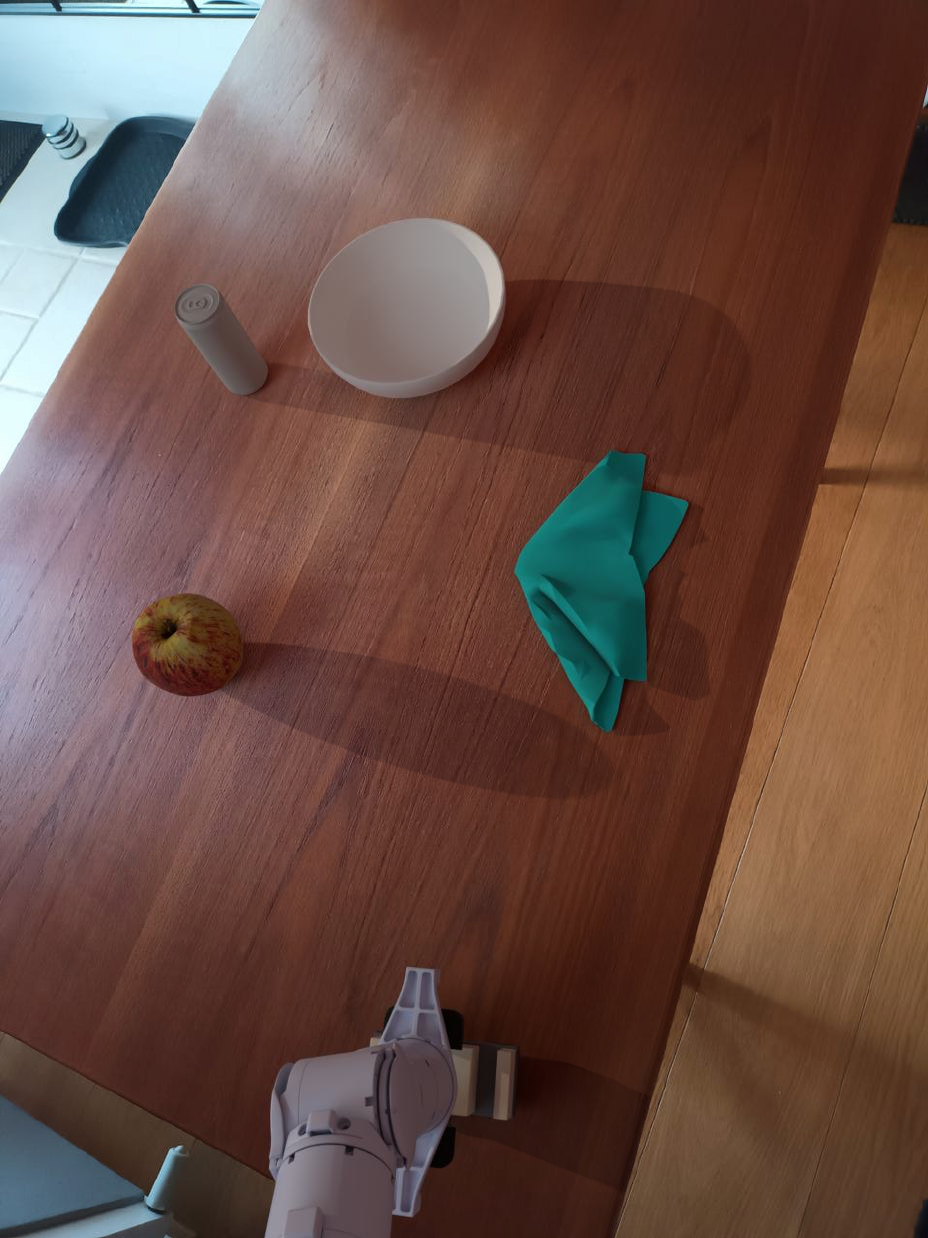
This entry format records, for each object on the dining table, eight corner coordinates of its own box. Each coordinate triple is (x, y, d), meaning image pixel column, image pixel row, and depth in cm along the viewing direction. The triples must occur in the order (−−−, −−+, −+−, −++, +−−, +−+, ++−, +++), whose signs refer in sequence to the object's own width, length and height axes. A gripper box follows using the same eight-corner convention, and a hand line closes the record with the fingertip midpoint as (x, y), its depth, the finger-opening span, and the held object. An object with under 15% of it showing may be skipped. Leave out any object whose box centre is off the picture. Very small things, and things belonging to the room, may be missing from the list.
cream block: (519, 1046, 71) (511, 1049, 67) (515, 1117, 69) (507, 1125, 66) (378, 1031, 73) (363, 1033, 70) (370, 1100, 72) (355, 1106, 68)
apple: (151, 689, 89) (92, 655, 79) (197, 604, 91) (145, 561, 82) (232, 724, 86) (180, 693, 77) (277, 635, 88) (232, 595, 79)
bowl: (530, 393, 92) (521, 355, 86) (337, 441, 94) (316, 406, 89) (497, 239, 99) (487, 195, 94) (319, 287, 102) (299, 246, 96)
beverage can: (267, 396, 98) (217, 321, 87) (223, 400, 99) (169, 327, 88) (272, 356, 100) (223, 278, 89) (228, 361, 101) (175, 284, 90)
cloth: (558, 439, 90) (555, 426, 88) (704, 465, 86) (705, 452, 84) (474, 697, 82) (469, 690, 80) (630, 739, 78) (630, 732, 76)
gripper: (344, 961, 61) (397, 965, 73) (313, 1222, 56) (376, 1178, 69) (451, 971, 60) (487, 973, 72) (429, 1240, 55) (472, 1192, 67)
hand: (439, 1074), depth 70 cm, fingers closed on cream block, 4 cm apart
